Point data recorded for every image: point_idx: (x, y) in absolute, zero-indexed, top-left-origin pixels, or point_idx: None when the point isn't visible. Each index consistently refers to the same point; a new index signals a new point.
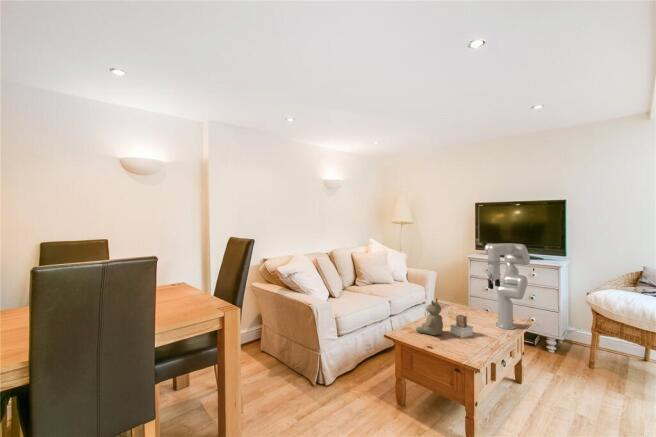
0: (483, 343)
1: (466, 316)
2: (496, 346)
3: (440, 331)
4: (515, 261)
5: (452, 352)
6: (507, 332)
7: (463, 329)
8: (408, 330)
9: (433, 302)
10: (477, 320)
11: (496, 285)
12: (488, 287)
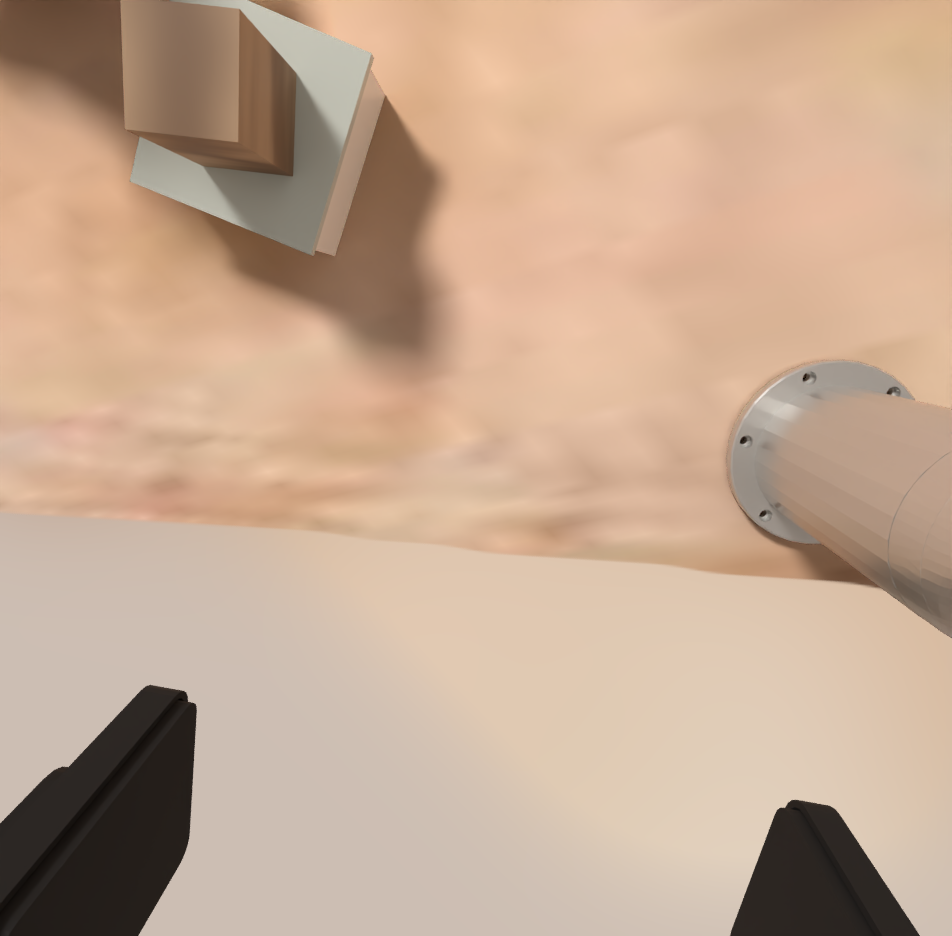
0: (218, 402)
1: (234, 142)
2: (241, 503)
3: None
4: None
5: None
6: (643, 504)
7: (154, 188)
8: None
9: None
10: (848, 139)
11: (775, 883)
12: (129, 710)
